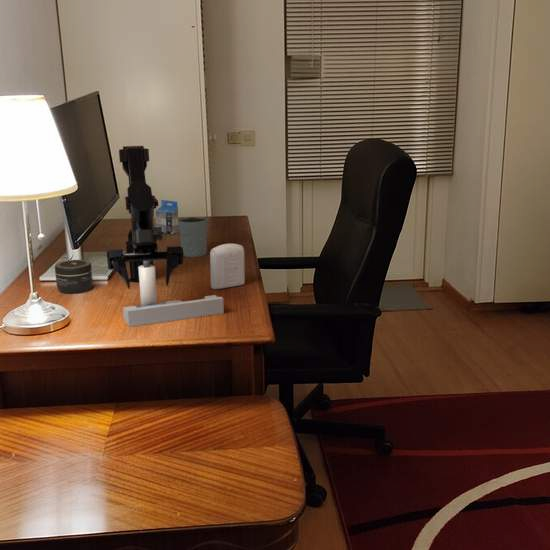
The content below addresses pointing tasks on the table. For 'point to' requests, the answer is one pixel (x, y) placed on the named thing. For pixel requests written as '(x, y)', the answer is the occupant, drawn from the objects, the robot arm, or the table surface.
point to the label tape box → (167, 217)
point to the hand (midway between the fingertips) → (148, 286)
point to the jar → (73, 276)
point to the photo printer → (227, 266)
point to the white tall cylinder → (147, 284)
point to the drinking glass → (193, 236)
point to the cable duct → (173, 311)
